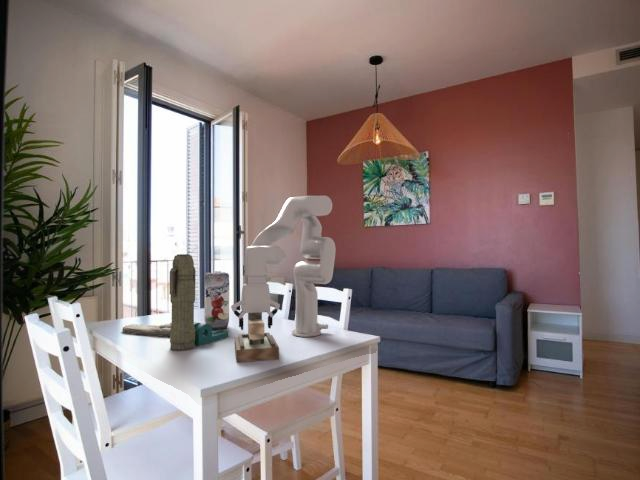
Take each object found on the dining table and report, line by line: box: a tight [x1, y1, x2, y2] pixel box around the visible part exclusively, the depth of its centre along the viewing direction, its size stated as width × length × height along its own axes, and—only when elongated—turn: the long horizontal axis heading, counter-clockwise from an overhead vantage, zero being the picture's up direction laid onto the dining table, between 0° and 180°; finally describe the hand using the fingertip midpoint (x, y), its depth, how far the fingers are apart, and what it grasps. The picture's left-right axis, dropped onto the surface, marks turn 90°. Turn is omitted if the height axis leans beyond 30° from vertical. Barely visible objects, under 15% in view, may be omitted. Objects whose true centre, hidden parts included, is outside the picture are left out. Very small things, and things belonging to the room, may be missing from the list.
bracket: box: [194, 321, 230, 347], centre depth 152 cm, size 18×7×8 cm, turn 150°
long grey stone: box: [121, 322, 172, 338], centre depth 162 cm, size 35×5×10 cm
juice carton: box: [204, 269, 230, 331], centre depth 173 cm, size 9×10×27 cm
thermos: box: [169, 253, 196, 352], centre depth 140 cm, size 9×12×35 cm
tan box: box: [247, 312, 265, 344], centre depth 133 cm, size 5×10×10 cm, turn 14°
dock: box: [234, 332, 280, 363], centre depth 133 cm, size 14×18×5 cm
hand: (255, 328), depth 133 cm, fingers open, 9 cm apart
